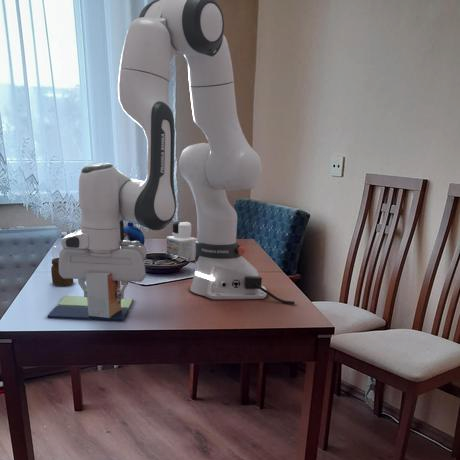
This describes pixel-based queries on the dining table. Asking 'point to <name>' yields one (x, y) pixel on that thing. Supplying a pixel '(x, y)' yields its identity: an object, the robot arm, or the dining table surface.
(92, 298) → the small box
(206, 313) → the dining table surface
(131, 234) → the bomb
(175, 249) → the container
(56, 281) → the utensil holder
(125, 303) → the sage mat
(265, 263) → the dining table surface
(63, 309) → the slate mat
